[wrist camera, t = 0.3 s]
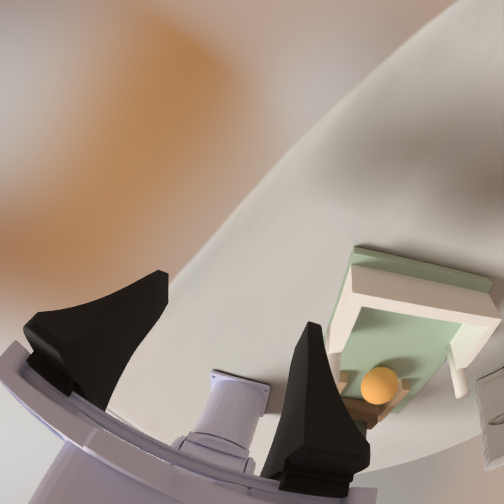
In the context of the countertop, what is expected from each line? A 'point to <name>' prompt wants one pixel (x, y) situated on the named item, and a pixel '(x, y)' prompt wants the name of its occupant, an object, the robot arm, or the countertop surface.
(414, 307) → the pitch
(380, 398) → the ball
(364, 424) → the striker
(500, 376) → the supplement box
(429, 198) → the countertop surface
